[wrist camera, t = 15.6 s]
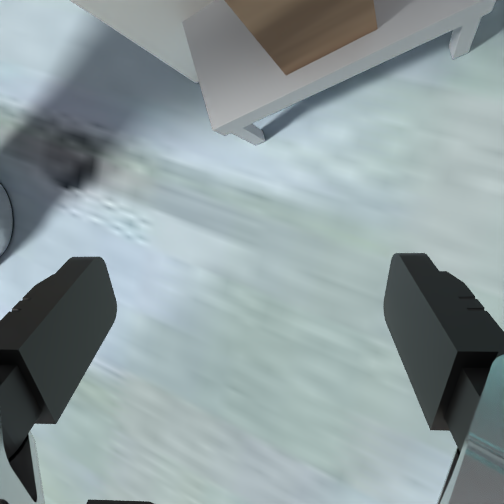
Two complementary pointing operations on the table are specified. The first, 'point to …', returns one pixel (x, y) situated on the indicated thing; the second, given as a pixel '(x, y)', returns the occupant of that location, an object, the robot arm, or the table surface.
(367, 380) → the table surface
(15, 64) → the table surface
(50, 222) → the table surface
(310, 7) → the brown tall block
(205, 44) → the wall shelf
